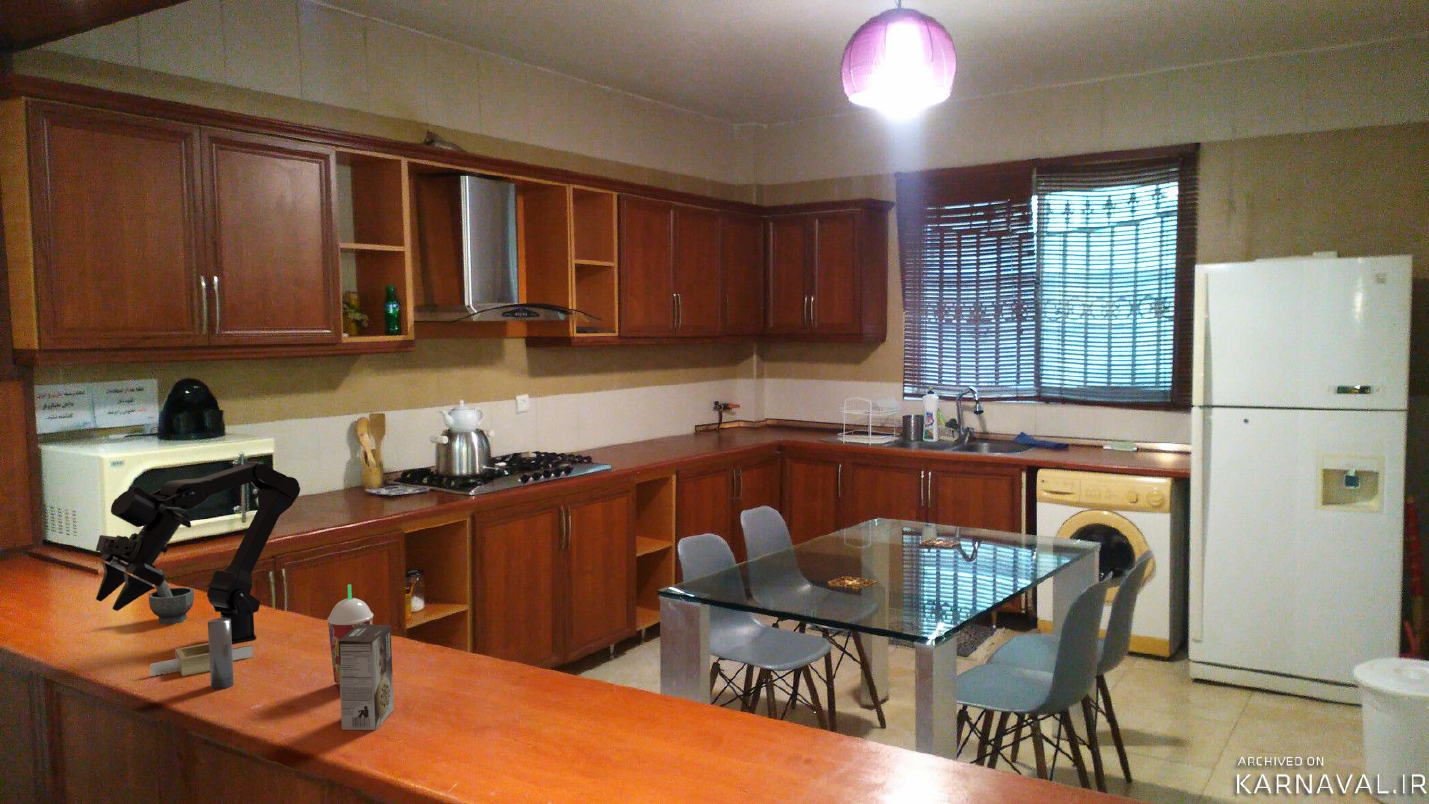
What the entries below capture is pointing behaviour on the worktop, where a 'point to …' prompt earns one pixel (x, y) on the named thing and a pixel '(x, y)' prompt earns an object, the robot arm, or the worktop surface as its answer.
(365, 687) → the coffee box
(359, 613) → the smoothie
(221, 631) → the hinge pin
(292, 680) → the worktop surface
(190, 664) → the bracket
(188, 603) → the mortar and pestle
